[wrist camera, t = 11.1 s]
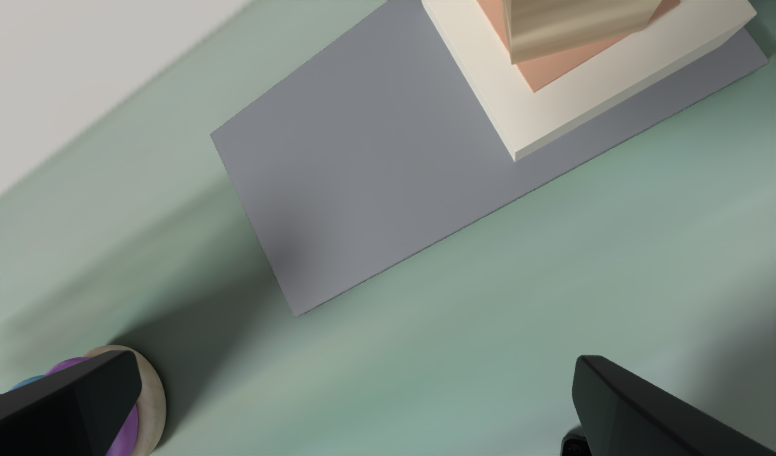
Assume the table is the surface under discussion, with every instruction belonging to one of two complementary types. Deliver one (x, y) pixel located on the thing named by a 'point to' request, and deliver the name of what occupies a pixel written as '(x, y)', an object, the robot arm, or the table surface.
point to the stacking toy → (146, 414)
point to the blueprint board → (450, 128)
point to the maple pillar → (569, 24)
